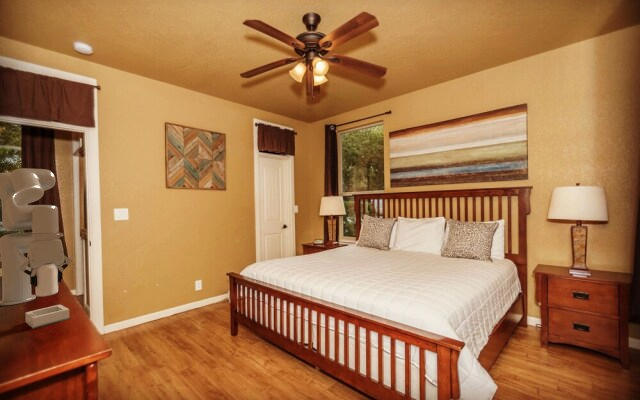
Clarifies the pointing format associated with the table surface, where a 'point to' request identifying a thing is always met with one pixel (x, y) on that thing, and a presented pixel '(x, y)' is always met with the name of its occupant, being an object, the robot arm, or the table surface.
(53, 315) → the dock socket
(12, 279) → the robot arm
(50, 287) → the can
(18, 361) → the table surface
